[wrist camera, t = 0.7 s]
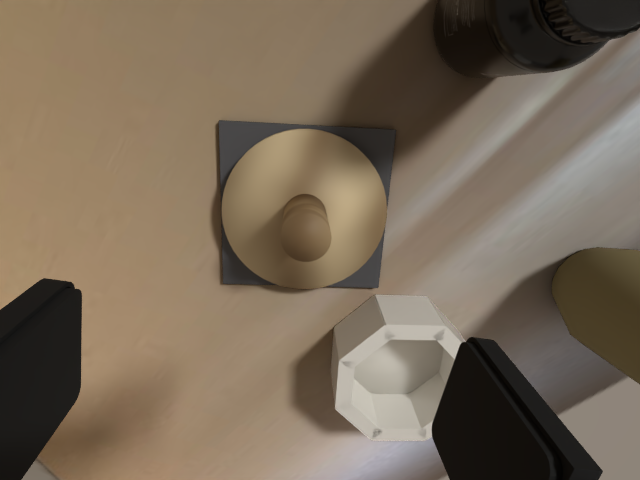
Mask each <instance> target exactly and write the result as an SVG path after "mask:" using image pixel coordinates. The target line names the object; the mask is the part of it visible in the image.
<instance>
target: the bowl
mask: <svg viewBox="0 0 640 480" xmlns="http://www.w3.org/2000/svg"><path fill="white" fill-rule="evenodd" d="M462 342H466V341H465V340H464V338H463V337H462V335H461V334H460V332H459V331H458V329H457V328H456V327H455V326H454V325H453V324H452V323H451V322H450V320H449V319H448V318H447V317H446V316H445V315H444V314H443V313H442V312H441V311H440V309H439V308H438V307H437V306H436V305H435V304H434V303H433V302H432V301H431V300H430V298H429V297H427V296H406V295H375V296H374V295H373V296H372V297H371V298H370V299H368V300H367V301H366V302H365V303H363V304H362V305H361V306H360V307H358V308H357V309H356V310H355V311H353V312H352V313H351V314H350V315H348V316H347V317H346V318H345V319H343V320H342V321H341V322H340V323H338V324H337V325H336V326H335V328H334V333H333V346H332V359H331V378H332V387H333V395H334V404H335V409H336V410H337V411H338V412H339V413H340V414H341V415H342V416H344V417H345V418H346V419H347V420H348V421H349V422H350V423H352V424H353V425H354V426H355V427H356V428H357V429H358V430H360V431H361V432H362V433H363V434H364V435H365V436H366V437H368V438H369V439H370V440H372V441H425V440H427V439H429V438H430V437H432V423H433V420H434V417H435V414H436V411H437V408H438V406H439V403H440V400H441V397H442V394H443V391H444V389H445V386H446V383H447V380H448V377H449V374H450V372H451V369H452V366H453V363H454V360H455V357H456V355H457V352H458V349H459V346H460V344H461V343H462Z"/></svg>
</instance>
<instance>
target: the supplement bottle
mask: <svg viewBox="0 0 640 480" xmlns="http://www.w3.org/2000/svg"><path fill="white" fill-rule="evenodd" d="M639 28H640V0H439V1H438V3H437V7H436V10H435V16H434V37H435V41H436V45H437V48H438V50H439V52H440V54H441V56H442V58H443V59H444V60H445V62H446V63H447V64H448V65H449V66H450V67H451V68H452V69H454V70H455V71H457V72H458V73H460V74H462V75H465V76H468V77H474V78H492V77H503V76H515V75H526V74H537V73H548V72H555V71H560V70H564V69H567V68H570V67H573V66H575V65H577V64H579V63H581V62H583V61H585V60H587V59H588V58H590V57H591V56H592V55H594V54H595V53H596V52H598V51H599V50H600V49H601V48H602V47H603V46H604V45H605V44H606V43H607V42H608V41H609V40H611V39H616V38H621V37H623V36H625V35H627V34H628V33H632V32H635V31H637V30H638V29H639Z"/></svg>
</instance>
